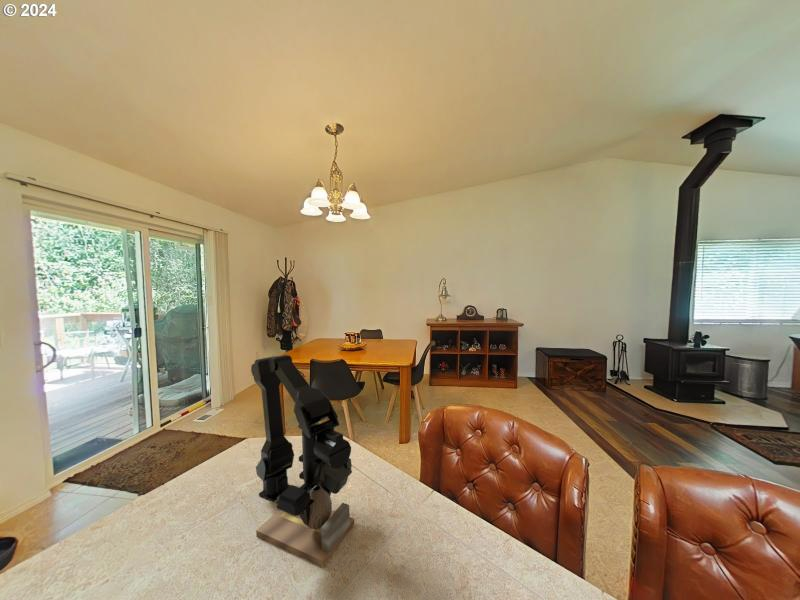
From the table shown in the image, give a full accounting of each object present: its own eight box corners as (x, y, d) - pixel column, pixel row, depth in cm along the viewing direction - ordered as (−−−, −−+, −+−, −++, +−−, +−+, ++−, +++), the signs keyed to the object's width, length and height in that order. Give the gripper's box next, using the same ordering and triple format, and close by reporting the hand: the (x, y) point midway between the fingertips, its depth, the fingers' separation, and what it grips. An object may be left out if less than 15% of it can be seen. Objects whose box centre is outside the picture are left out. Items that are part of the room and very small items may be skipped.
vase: (324, 537, 64) (323, 499, 64) (296, 533, 65) (295, 496, 65) (336, 512, 71) (335, 479, 70) (311, 509, 72) (309, 476, 72)
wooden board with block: (256, 536, 68) (255, 510, 68) (293, 501, 79) (292, 479, 79) (323, 567, 60) (322, 538, 60) (354, 524, 71) (353, 499, 71)
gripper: (315, 483, 56) (317, 560, 56) (364, 437, 73) (365, 496, 73) (273, 470, 60) (276, 540, 61) (329, 429, 77) (330, 485, 78)
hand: (316, 513), depth 68 cm, fingers closed on vase, 6 cm apart
